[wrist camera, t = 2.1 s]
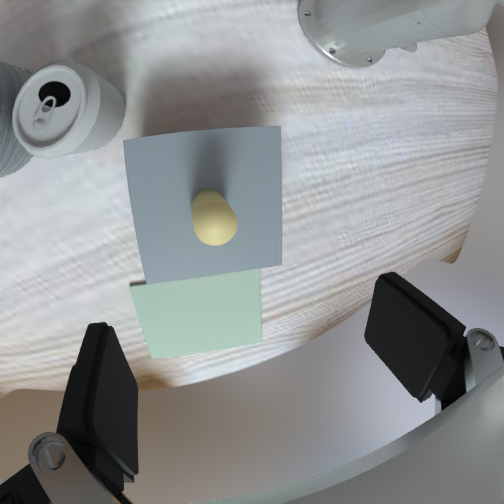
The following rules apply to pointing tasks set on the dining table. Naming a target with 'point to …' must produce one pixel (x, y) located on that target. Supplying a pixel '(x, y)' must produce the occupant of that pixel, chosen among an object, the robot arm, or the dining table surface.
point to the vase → (3, 136)
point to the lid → (206, 201)
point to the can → (66, 111)
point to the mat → (200, 313)
